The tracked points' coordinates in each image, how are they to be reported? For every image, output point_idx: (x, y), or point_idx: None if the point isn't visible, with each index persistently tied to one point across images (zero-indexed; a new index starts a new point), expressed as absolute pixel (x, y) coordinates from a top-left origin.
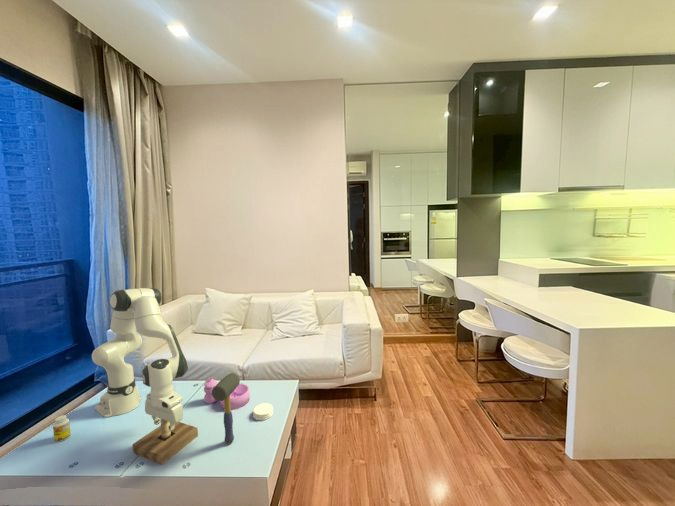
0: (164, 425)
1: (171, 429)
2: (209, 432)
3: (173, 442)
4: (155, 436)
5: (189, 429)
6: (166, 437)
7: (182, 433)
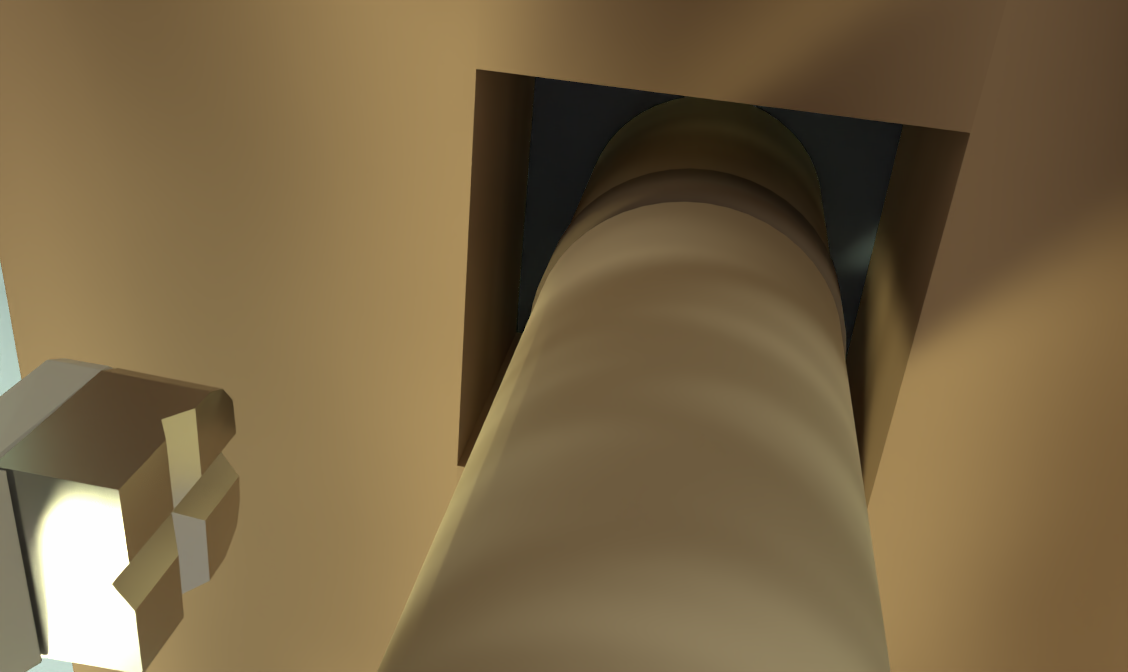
0: (474, 521)
1: (43, 391)
2: (66, 663)
3: (129, 100)
4: (1089, 208)
5: (215, 641)
6: (570, 239)
7: (247, 488)
